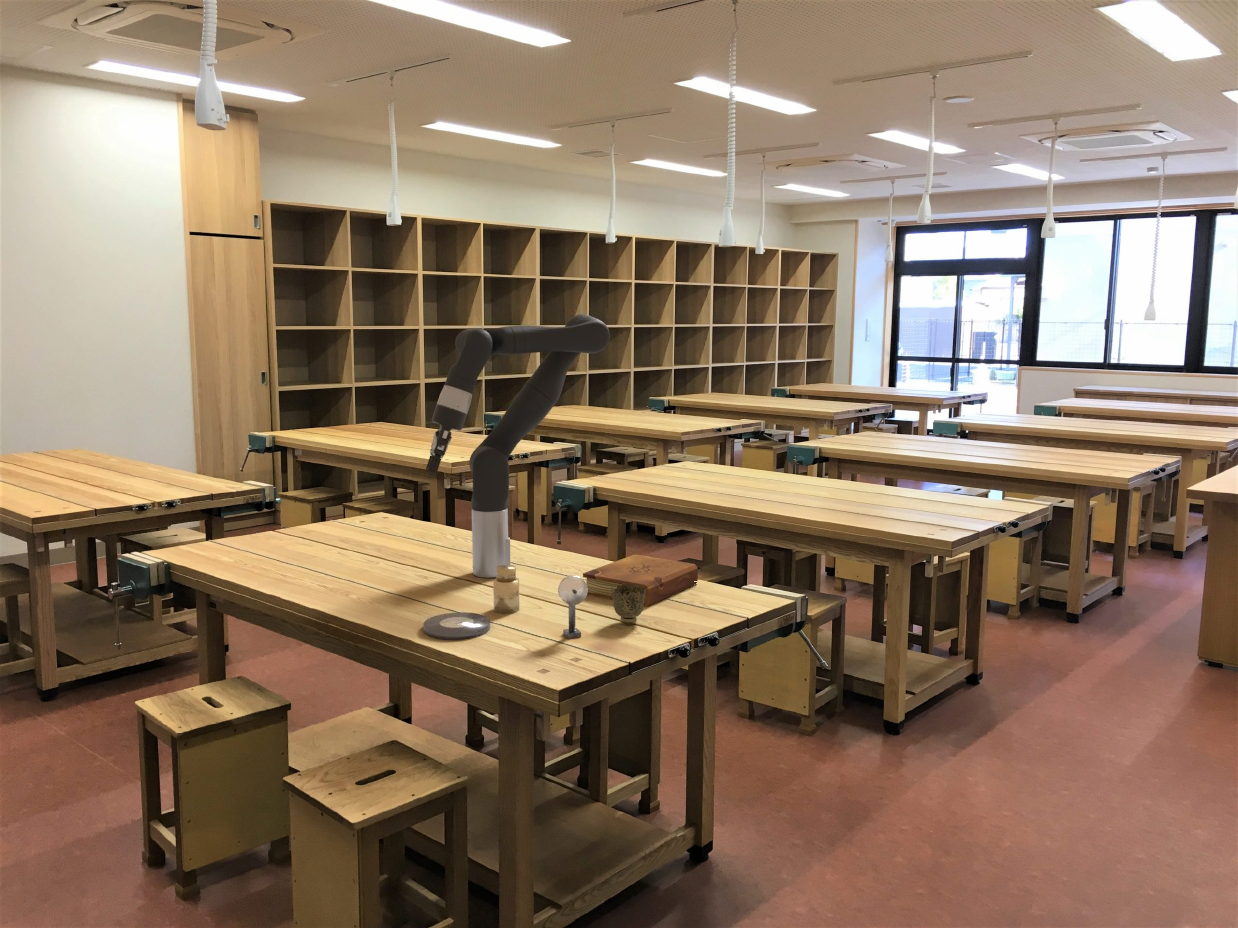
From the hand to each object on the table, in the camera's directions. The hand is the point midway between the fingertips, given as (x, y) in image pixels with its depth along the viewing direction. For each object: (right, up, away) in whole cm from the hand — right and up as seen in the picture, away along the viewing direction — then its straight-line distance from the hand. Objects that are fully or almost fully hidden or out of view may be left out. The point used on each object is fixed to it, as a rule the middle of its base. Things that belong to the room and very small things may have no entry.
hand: (430, 471), depth 228 cm
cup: (+47, -33, -21) cm, 61 cm away
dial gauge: (+35, -34, -29) cm, 57 cm away
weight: (+20, -31, -12) cm, 39 cm away
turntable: (+11, -33, -25) cm, 43 cm away
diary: (+51, -29, +5) cm, 59 cm away
